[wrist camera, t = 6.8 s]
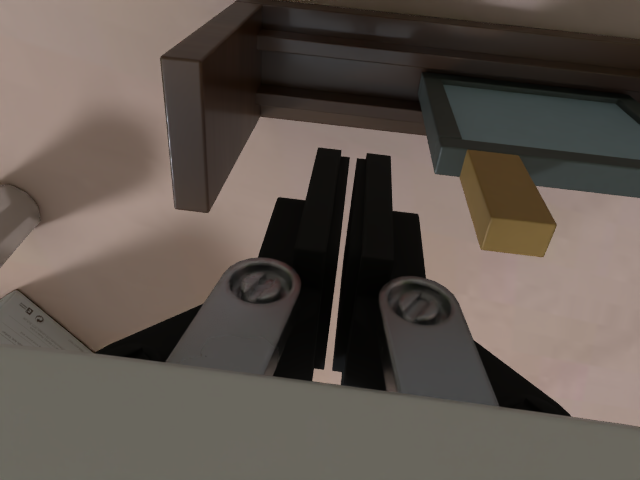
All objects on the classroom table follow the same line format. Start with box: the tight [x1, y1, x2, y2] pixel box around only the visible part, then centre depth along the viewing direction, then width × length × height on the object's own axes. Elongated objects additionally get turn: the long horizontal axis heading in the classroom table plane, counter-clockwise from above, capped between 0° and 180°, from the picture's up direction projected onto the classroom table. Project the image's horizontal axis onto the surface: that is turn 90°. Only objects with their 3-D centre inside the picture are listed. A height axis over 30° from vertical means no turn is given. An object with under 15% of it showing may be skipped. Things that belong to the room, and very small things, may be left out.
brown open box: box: [160, 0, 640, 213], centre depth 19 cm, size 5×20×10 cm, turn 85°
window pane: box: [418, 72, 640, 257], centre depth 17 cm, size 1×9×12 cm, turn 85°
